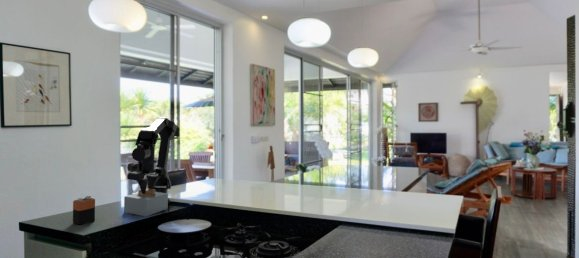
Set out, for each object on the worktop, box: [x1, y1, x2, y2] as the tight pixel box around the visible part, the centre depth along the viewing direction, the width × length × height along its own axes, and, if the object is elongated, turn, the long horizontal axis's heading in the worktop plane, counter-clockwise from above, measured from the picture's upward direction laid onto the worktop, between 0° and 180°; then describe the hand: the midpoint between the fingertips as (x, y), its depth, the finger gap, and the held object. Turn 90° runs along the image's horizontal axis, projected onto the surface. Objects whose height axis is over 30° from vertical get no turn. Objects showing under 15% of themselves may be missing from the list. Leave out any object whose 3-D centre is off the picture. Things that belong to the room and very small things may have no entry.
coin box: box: [123, 192, 169, 217], centre depth 173 cm, size 14×12×7 cm
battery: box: [72, 195, 96, 225], centre depth 153 cm, size 4×7×10 cm, turn 154°
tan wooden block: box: [137, 187, 155, 197], centre depth 173 cm, size 4×6×3 cm, turn 70°
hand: (146, 192), depth 173 cm, fingers closed on tan wooden block, 4 cm apart
